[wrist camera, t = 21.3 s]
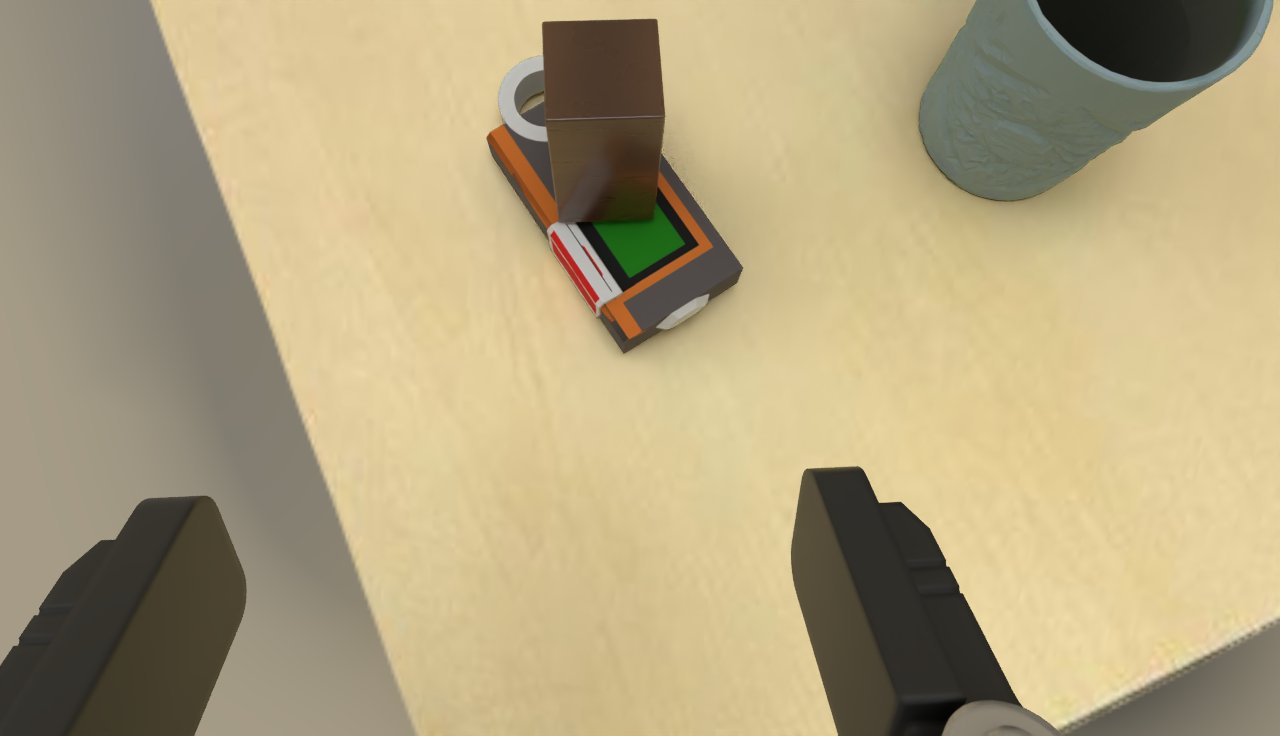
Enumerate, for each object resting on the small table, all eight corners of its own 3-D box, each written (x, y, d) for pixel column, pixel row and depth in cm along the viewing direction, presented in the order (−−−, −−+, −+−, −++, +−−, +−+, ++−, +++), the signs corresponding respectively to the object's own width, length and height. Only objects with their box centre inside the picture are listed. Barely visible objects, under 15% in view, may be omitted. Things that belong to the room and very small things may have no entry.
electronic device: (574, 28, 39) (748, 271, 37) (578, 63, 42) (739, 291, 40) (455, 93, 38) (625, 348, 36) (467, 125, 41) (625, 363, 39)
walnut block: (558, 223, 37) (545, 120, 29) (555, 139, 38) (542, 20, 30) (654, 219, 37) (665, 117, 29) (647, 137, 38) (657, 17, 31)
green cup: (942, 233, 41) (1081, 118, 29) (874, 60, 43) (981, -116, 31) (1118, 183, 42) (1321, 52, 30) (1046, 16, 44) (1212, -170, 32)
